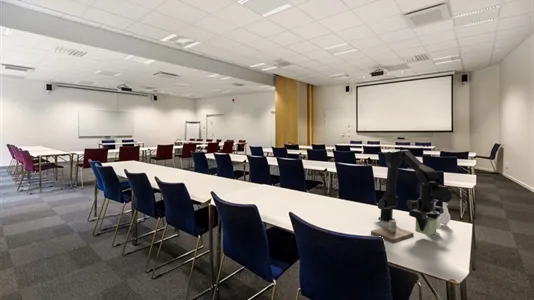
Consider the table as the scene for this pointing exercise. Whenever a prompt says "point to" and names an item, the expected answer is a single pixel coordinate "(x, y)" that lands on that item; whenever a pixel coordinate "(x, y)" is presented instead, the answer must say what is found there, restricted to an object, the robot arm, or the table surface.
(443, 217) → the headset
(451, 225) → the table surface
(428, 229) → the sage green cube
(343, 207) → the table surface
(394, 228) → the brown rectangular block
